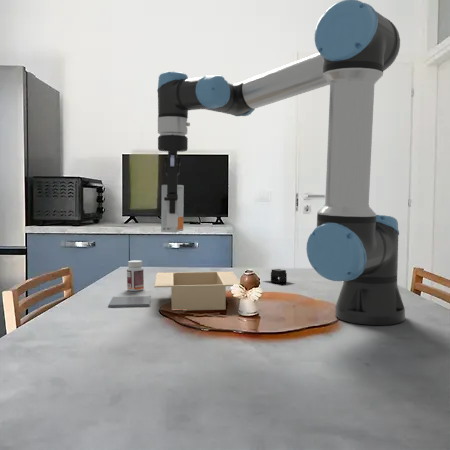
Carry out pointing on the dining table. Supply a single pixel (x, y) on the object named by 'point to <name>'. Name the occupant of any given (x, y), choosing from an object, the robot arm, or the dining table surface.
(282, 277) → the black boxy piece
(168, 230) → the skincare box
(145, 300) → the coaster
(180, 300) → the carton
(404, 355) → the dining table surface
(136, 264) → the pill bottle
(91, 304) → the dining table surface
